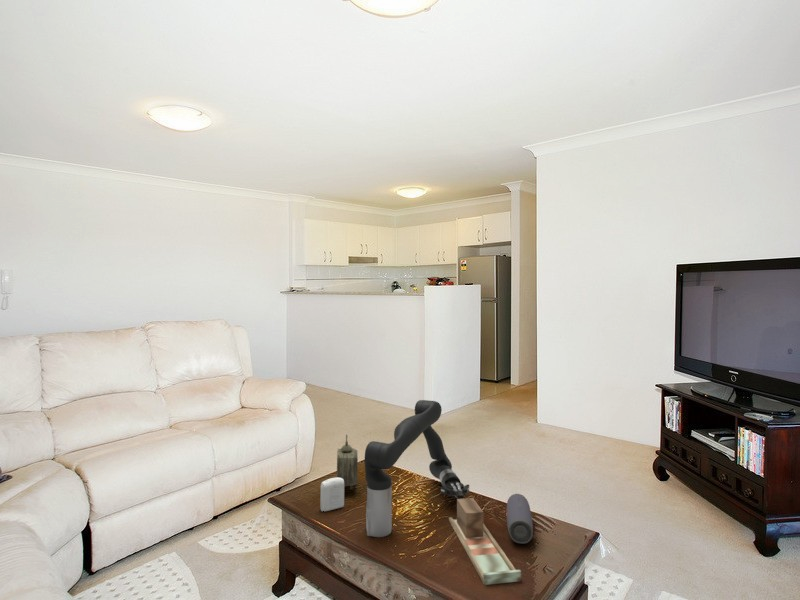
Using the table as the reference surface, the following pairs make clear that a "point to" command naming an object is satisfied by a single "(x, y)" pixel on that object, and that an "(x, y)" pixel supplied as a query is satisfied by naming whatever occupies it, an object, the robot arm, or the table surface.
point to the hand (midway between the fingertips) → (461, 497)
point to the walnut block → (470, 517)
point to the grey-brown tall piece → (347, 465)
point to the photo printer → (332, 494)
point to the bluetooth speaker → (519, 519)
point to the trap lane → (487, 557)
